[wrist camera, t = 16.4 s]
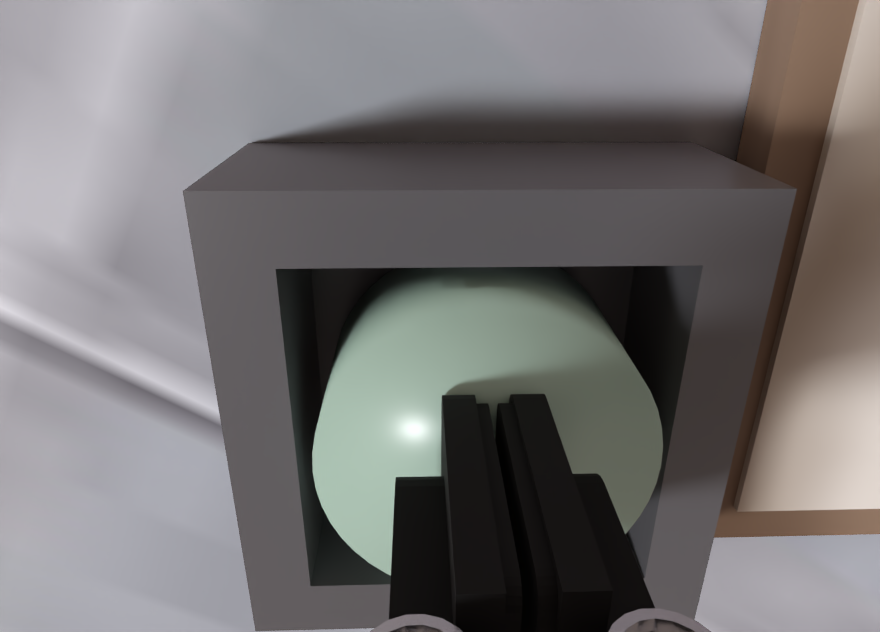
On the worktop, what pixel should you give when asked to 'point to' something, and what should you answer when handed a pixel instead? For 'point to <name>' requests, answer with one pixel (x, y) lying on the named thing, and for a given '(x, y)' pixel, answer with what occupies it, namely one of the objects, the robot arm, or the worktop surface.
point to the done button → (474, 388)
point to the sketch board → (815, 279)
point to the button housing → (475, 245)
